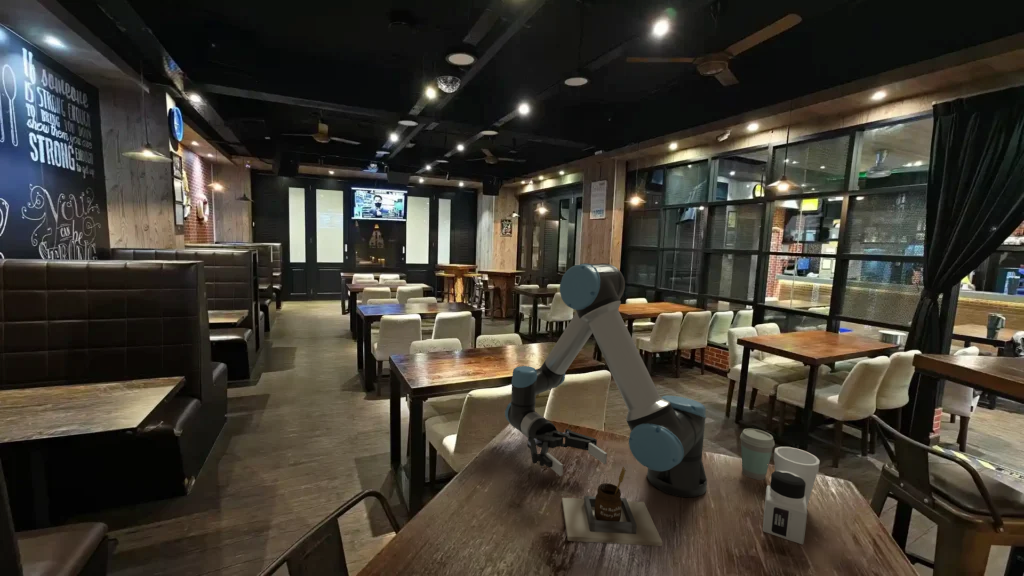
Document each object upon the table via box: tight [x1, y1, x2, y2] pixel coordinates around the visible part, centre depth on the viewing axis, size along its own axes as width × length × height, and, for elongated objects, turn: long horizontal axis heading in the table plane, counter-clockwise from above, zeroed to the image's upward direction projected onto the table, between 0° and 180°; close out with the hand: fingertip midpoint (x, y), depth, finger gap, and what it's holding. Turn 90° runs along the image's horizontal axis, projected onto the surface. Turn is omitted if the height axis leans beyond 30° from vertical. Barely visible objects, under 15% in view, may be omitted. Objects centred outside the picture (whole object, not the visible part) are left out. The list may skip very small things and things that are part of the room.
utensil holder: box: [595, 466, 627, 522], centre depth 98 cm, size 6×6×12 cm
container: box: [762, 470, 808, 545], centre depth 97 cm, size 8×8×13 cm
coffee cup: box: [739, 428, 776, 481], centre depth 121 cm, size 8×8×12 cm
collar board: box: [561, 495, 663, 547], centre depth 98 cm, size 20×14×3 cm
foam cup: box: [773, 446, 820, 507], centre depth 107 cm, size 10×9×13 cm
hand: (584, 464), depth 106 cm, fingers open, 13 cm apart
